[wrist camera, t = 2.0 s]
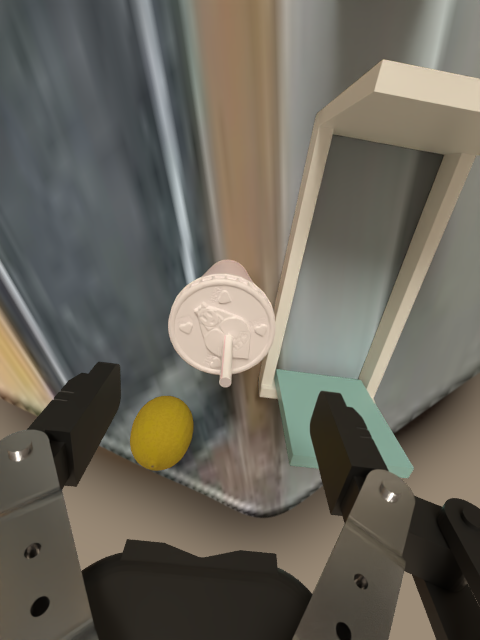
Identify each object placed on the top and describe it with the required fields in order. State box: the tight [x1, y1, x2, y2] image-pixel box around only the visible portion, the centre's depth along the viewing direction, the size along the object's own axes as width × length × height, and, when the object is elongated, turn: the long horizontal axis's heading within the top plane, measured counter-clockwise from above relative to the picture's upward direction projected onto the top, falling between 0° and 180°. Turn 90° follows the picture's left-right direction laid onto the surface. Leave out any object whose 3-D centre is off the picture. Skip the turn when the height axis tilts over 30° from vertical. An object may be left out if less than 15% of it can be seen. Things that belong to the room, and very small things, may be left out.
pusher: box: [274, 369, 414, 478], centre depth 25 cm, size 8×1×10 cm, turn 81°
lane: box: [258, 59, 480, 403], centre depth 22 cm, size 11×23×11 cm, turn 171°
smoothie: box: [168, 260, 276, 387], centre depth 20 cm, size 6×6×14 cm
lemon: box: [130, 396, 193, 470], centre depth 29 cm, size 6×6×8 cm
